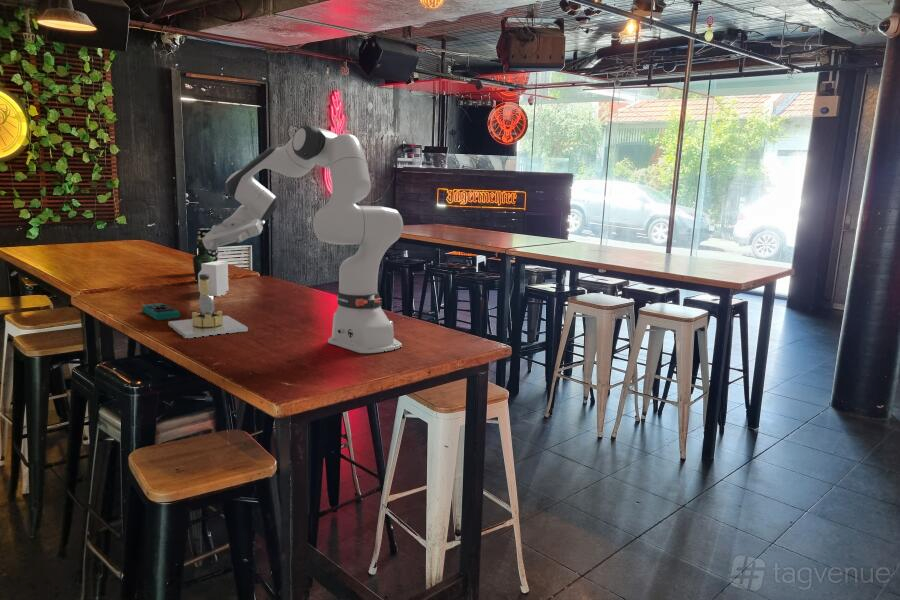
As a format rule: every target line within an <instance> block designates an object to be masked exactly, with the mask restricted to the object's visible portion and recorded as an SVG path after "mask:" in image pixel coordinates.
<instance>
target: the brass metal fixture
mask: <svg viewBox="0 0 900 600" xmlns="http://www.w3.org/2000/svg"><path fill="white" fill-rule="evenodd" d="M199 278H200V293H199V294H200V295H209V274H200V275H199ZM200 295H199V296H200ZM197 313H198V314H197ZM223 316H224V315H223V311H222V310H217V311H216V312H215V311H214V317H212V315H211V314H205V318H202V317H200V312H197V311H194V312H193V311H192V312H191V319H192V323H193V325H194V326H198V327H213V326H218V325H221V324H223Z"/></svg>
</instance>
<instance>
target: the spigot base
mask: <svg viewBox="0 0 900 600" xmlns="http://www.w3.org/2000/svg"><path fill="white" fill-rule="evenodd" d="M214 312H215V297H214V295H199V312H197V314H198V313H200V317H202V318H205V314H211V315H212V317H214ZM222 316H223V324H221V325H218V326H213V327H198V326H194V325H193V323H192V318H190V319H189V318H187V319H180V320H170V321H167V323H168V325H167V326H169V327H170V328H171V329H172V328H173V329H172V330H174V332H176V333H178V334H179V335H180V336H181V335H182V338H184V339H185V340H186V338H188V339H195V338H194V337H196V338H203V337H202V336H204V337H210V336H209V335H213V336H218V335H217V334H221V335H227V334H226V333H229V334H236V333H237V332H238V333H244V332H245V333H247V332H249V329H248V326H246V325H245V324H243V323H241V322H240V321H238V320H236V319H235V318H232V317H231V316H229V315H222Z"/></svg>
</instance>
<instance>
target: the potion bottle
mask: <svg viewBox="0 0 900 600" xmlns="http://www.w3.org/2000/svg"><path fill="white" fill-rule="evenodd" d="M202 240H203V238H197V243H195V244H194V245H195V246H194V247H195V248H196V249H197V252H198V251H199V254H198V253H197V254H196V255H194V256H193V257H192V264H193V272H194V280H197V281H198V273H199V272H200V271H201V270H202V267H201V264H203V263H209V262H213V258H212V256H210V255H208V254H206V253H207V249H206V247H205V246H204V244H203V241H202ZM198 243H199V244H198Z"/></svg>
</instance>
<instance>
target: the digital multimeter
mask: <svg viewBox="0 0 900 600" xmlns="http://www.w3.org/2000/svg"><path fill="white" fill-rule="evenodd" d="M141 309H142V311H141V312H142V313H143V314H145V313H146V314H145V315H147V316H149V317H150V318H152V317H153V319H154V320H155V319H156V321H164V319H166V320H172V319H171V318H174V319H179V318H180V317H181V315H180V311H179V310H177V309H175V308H172V307H171V306H169V305H167V304H165V303H150V304H145V305H143V306H142V308H141Z"/></svg>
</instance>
